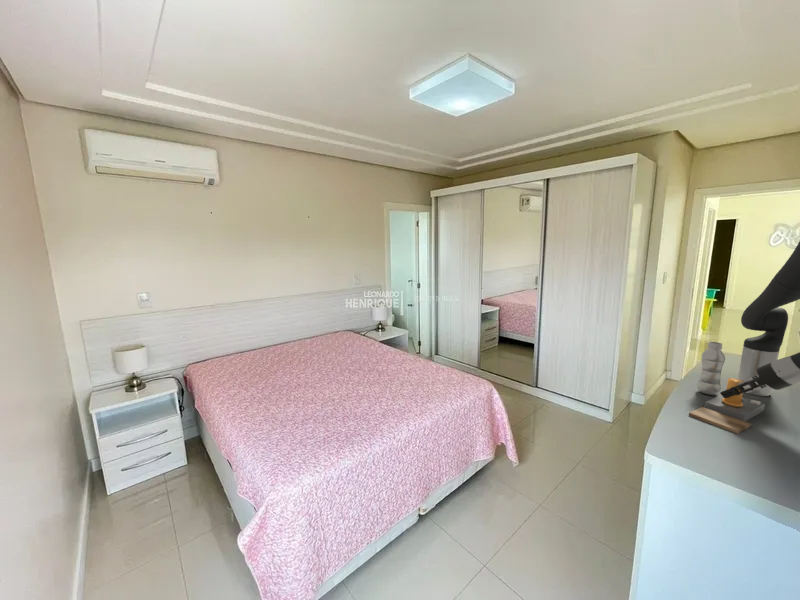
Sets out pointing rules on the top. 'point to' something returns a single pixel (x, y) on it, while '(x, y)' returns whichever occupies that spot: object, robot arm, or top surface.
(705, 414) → the board
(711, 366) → the plastic bottle
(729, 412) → the grey socket board
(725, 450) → the top surface
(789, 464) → the top surface
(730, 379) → the plug
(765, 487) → the top surface
